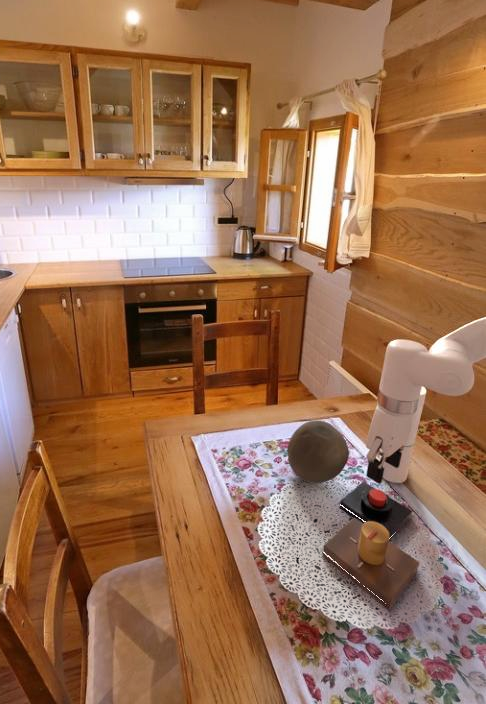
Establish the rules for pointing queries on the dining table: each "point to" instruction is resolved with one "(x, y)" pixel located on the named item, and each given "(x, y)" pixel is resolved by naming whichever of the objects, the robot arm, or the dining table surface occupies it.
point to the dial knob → (373, 542)
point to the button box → (375, 509)
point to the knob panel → (377, 578)
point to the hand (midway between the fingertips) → (382, 471)
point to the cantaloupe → (317, 452)
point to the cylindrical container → (405, 448)
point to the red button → (377, 497)
